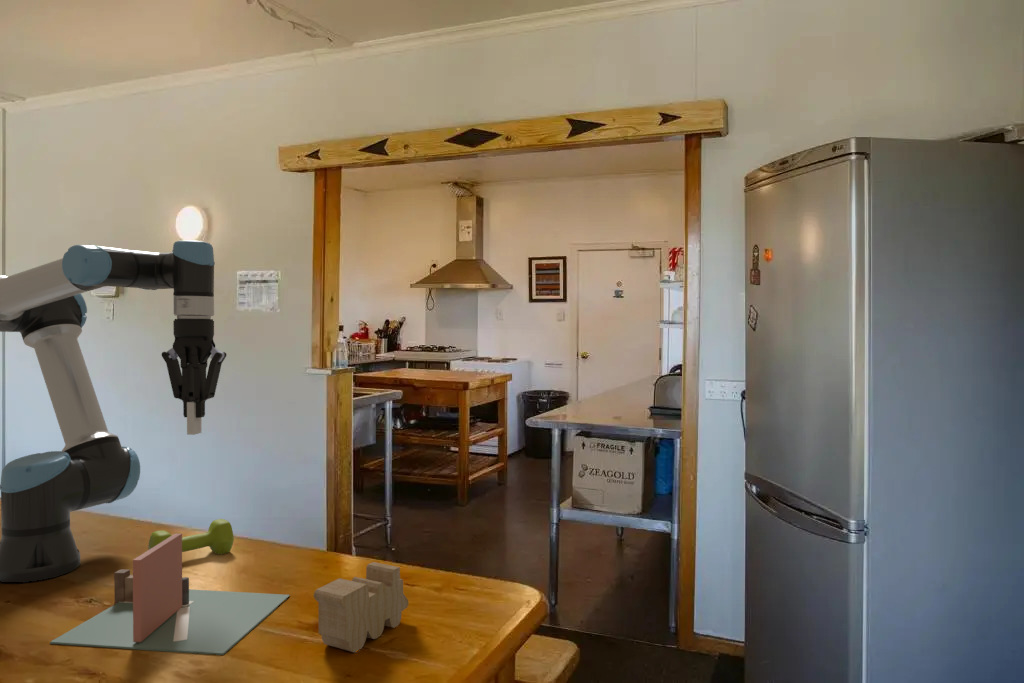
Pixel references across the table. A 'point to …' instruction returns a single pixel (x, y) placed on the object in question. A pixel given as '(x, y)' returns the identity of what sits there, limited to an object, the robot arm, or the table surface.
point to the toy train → (360, 606)
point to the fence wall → (125, 587)
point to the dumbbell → (202, 538)
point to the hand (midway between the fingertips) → (194, 433)
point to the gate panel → (156, 586)
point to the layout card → (181, 624)
